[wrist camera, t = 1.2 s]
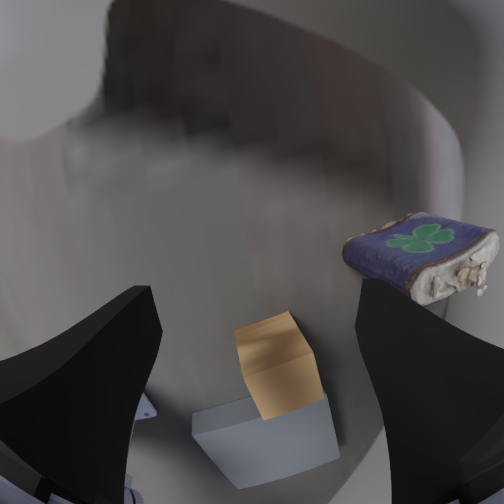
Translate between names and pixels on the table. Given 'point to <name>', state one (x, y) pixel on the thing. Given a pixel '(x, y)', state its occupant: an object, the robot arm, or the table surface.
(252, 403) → the base block
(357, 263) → the flask
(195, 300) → the table surface
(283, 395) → the oak block
